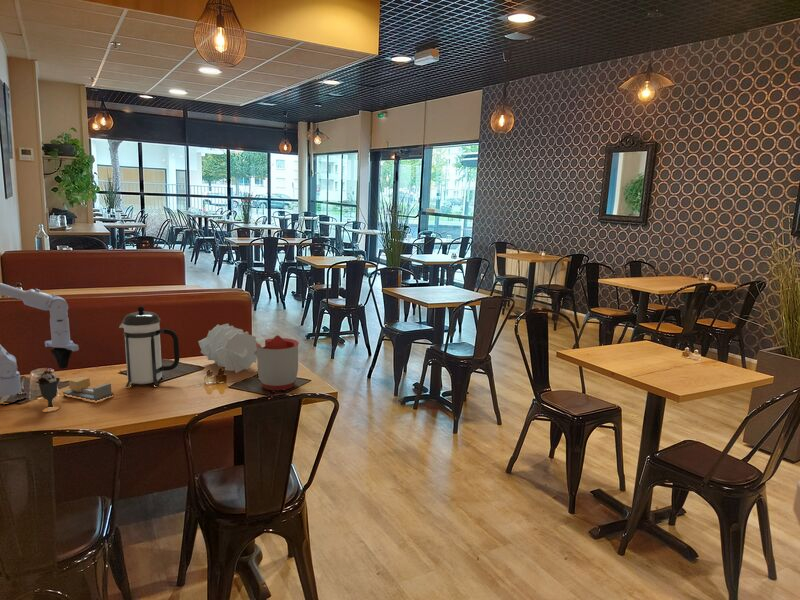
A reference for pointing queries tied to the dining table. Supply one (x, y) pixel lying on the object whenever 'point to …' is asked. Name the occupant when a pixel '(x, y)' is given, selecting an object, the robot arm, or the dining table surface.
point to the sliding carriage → (79, 383)
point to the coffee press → (145, 347)
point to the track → (93, 392)
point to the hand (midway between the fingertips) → (63, 368)
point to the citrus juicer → (277, 363)
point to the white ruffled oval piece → (229, 347)
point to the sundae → (48, 386)
